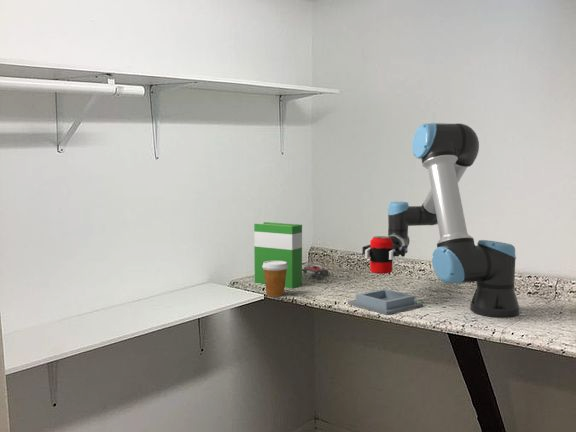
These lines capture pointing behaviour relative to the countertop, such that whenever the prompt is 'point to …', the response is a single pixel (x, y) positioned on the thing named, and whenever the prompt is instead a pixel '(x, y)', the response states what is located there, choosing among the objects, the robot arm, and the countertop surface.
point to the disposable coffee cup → (275, 277)
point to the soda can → (380, 255)
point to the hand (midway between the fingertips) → (378, 254)
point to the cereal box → (279, 250)
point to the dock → (385, 301)
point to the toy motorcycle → (315, 271)
